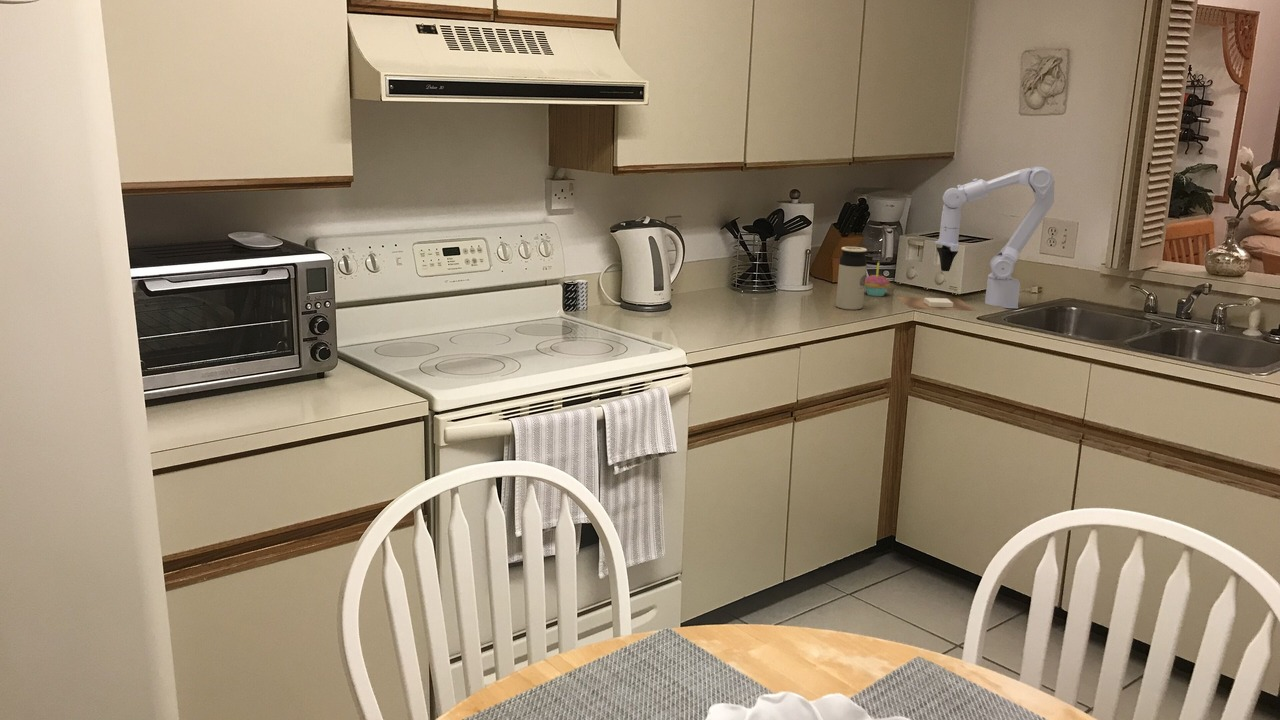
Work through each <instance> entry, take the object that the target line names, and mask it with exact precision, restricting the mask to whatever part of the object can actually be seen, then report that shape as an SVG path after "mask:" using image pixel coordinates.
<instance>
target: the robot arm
mask: <svg viewBox="0 0 1280 720" xmlns="http://www.w3.org/2000/svg"><path fill="white" fill-rule="evenodd" d="M1055 183H1056V182H1055V179H1054V176H1053V174H1052V172H1051V171H1050V170H1049V168H1045V167H1044V166H1041V165H1034V166H1032V167H1026V168H1022V169H1019V170H1014V171H1012V172H1009V173H1006V174H1004V175H1001V176H998V177H996V178H992V179H989V180H987V181H986V180H984V179H983V178H980V179H978V178H977V177H976V178H974V179H972V181H970V182H968V183H965V184H962V185H961V184H958V185H956V186H957V188H956V187H950V188H948V189H946V190H945V191H944V193H943V195H942V201H943V206H942V212H941V218H940V227H939V228H940V229H939V236H938V240H935V241H934V244H936V245H940V246H942V247H936V251H937V252H938V256H939V263H940V264H939V265H940V271H942V272H949V271H950V270H951V266H952V265H953V261H954V259H955V257H956V256H957V254H958V253H959V247H960V246H959V243H960V242H959V236H960V227H961V218H962V213H961V211H962V210H961V209H962V205H963V204H964V203H965V204H969V203H972V202H975V201H978V200H981V199H984V198H987V197H988V195H989V193H990V192H992V191H993V192H994V191H996V190H1000V189H1002V188H1006V187H1010V186H1013V185H1017V184H1018V185H1024V186H1028V185H1029V186H1030V188H1031V189H1032V193H1033V196H1034V202H1033V203H1032V205H1031V207H1030V208H1029V210H1028V211H1027V213H1026V214H1025V216H1024V217H1023V219H1022V220H1021V222H1020V223H1019V225H1018V226H1017V227H1016V229H1015V231H1014V232H1013V233H1012V235H1011V237H1010V238H1009V240H1008V241H1007V243H1006V244H1005V246H1003V247H1002V248H1001V249H1000V251H999V252H998V253H997V254H995V255H993V257H992V258H991V259H990V260H989V269H990V271H991V272H990V273H989V274H988V275H987V282H986V290H985V296H984V298H985V299H984V303H985V304H986V305H990V306H997V307H1002V308H1004V309H1019V299H1020V293H1021V292H1020V291H1021V283H1020V280H1019V278H1013V276H1012V274H1013V273H1014V270H1015V264H1016V262H1017V261H1018V259H1019V256H1020V254H1021V252H1022V251H1023V249H1024V248H1025V246H1026V245H1027V244H1028V242H1029V241H1030V240H1031V238H1032V236H1033V235H1034V233H1035V231H1036V230H1037V228H1038V227H1039V226H1040V224H1041V223H1042V221H1043V220H1044V218H1045V217H1046V216H1047V214H1048V213H1049V211H1050V209H1051V208H1052V206H1053V204H1054V202H1055Z"/></svg>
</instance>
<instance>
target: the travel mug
mask: <svg viewBox="0 0 1280 720" xmlns="http://www.w3.org/2000/svg"><path fill="white" fill-rule="evenodd" d="M841 250H842V253H841V256H840V257H839V263H838V264H839V265H838V273H837V274H838V275H837V287H836V298H835V299H836V300H835V306H836V307H837V308H839V309H841V310H847V311H848V310H849V311H850V310H851V311H856V310H861V309H862V308H864V298H865V297H864V296H865V288H866V287H865V278H866V274H867V273H866V272H867V263H868V260H867V257H866V253H867V252H868V249H867V248H865V247H861V246H842V247H841Z"/></svg>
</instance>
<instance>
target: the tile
mask: <svg viewBox="0 0 1280 720" xmlns="http://www.w3.org/2000/svg"><path fill="white" fill-rule="evenodd" d="M923 298H924V303H925V304H927V305H928V306H930V307H946V308H952V307H953V302H951V301H950V300H948V299H946V297H944V298H943V297H941V298H940V297H923Z"/></svg>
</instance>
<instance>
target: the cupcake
mask: <svg viewBox="0 0 1280 720" xmlns="http://www.w3.org/2000/svg"><path fill="white" fill-rule="evenodd" d="M875 271H876V272H875V273H876V274H871V275H867V277H866V276H865V287H864V288H865V290H866V294H867V295H868V296H872V297H883V296H885V294H886V291H887V290H888V288H890V287H891V281H890V280H889V279H888V278H887V277H886V276H883V275H880V274H879V273H880V261H879V260H878V262H877V263H876V270H875Z"/></svg>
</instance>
